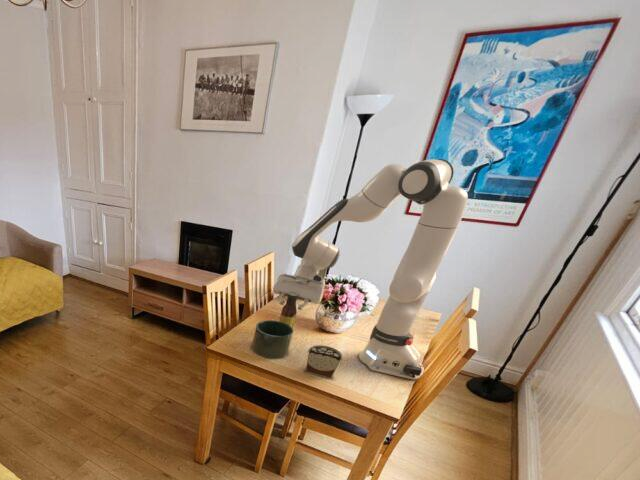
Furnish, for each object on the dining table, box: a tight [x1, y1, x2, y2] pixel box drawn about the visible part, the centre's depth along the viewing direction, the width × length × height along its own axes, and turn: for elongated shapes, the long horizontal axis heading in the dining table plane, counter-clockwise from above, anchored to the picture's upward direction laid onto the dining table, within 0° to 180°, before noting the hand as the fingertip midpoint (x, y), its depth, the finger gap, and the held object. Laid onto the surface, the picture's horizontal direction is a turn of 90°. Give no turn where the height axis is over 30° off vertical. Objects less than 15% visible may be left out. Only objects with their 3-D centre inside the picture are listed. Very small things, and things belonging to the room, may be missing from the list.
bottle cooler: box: [251, 319, 294, 359], centre depth 164 cm, size 15×15×10 cm
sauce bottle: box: [279, 292, 298, 330], centre depth 170 cm, size 6×6×20 cm
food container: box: [304, 344, 343, 380], centre depth 150 cm, size 12×6×10 cm, turn 59°
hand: (290, 306), depth 167 cm, fingers open, 7 cm apart
